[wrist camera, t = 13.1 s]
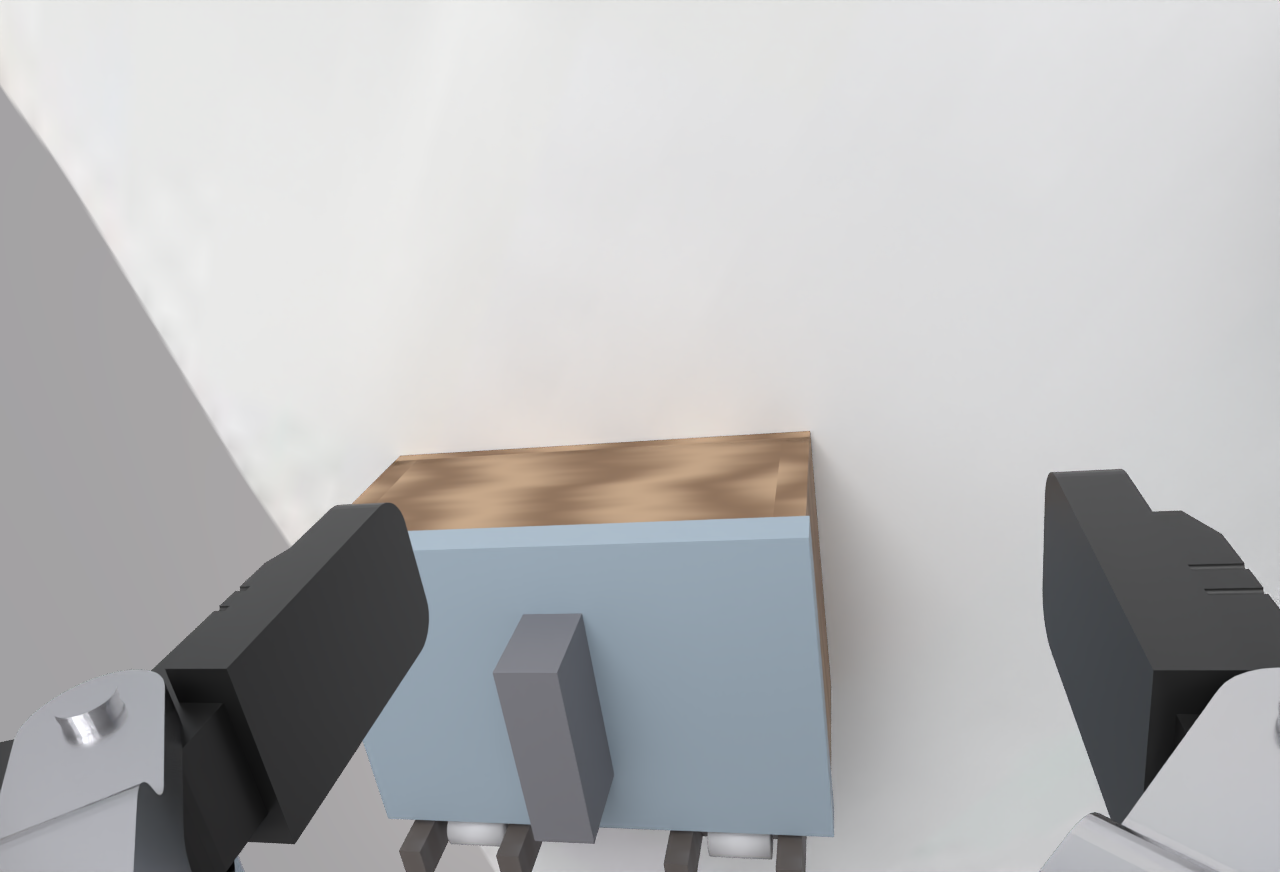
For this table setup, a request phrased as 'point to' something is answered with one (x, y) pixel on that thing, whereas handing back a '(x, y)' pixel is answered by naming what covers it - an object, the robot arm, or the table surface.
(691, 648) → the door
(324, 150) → the table surface
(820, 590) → the brown wooden open box
